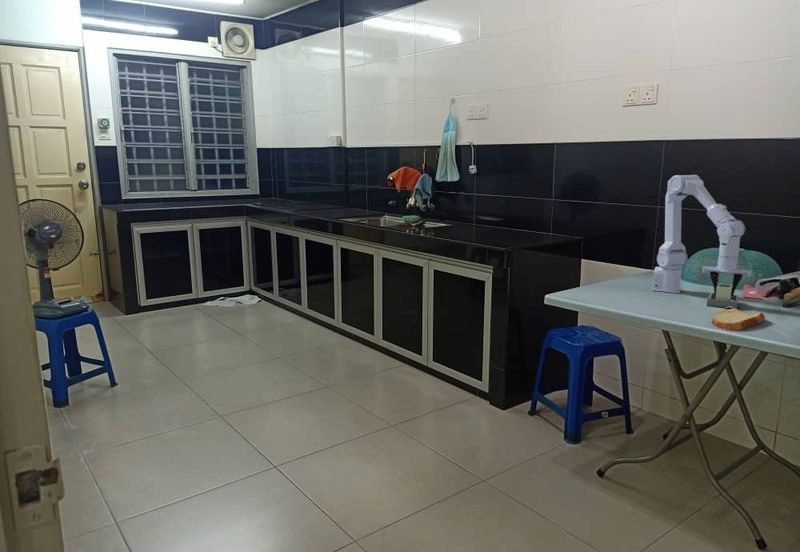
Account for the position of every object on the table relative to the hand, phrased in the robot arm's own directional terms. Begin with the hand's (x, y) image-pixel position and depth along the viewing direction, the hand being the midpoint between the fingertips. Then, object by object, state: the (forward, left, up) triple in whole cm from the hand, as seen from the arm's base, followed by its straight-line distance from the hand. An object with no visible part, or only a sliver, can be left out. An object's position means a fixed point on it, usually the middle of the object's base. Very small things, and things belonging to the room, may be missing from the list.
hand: (723, 294), depth 194 cm
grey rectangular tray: (0, 0, -3) cm, 3 cm away
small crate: (0, 0, -2) cm, 2 cm away
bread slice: (+6, -24, -4) cm, 25 cm away
